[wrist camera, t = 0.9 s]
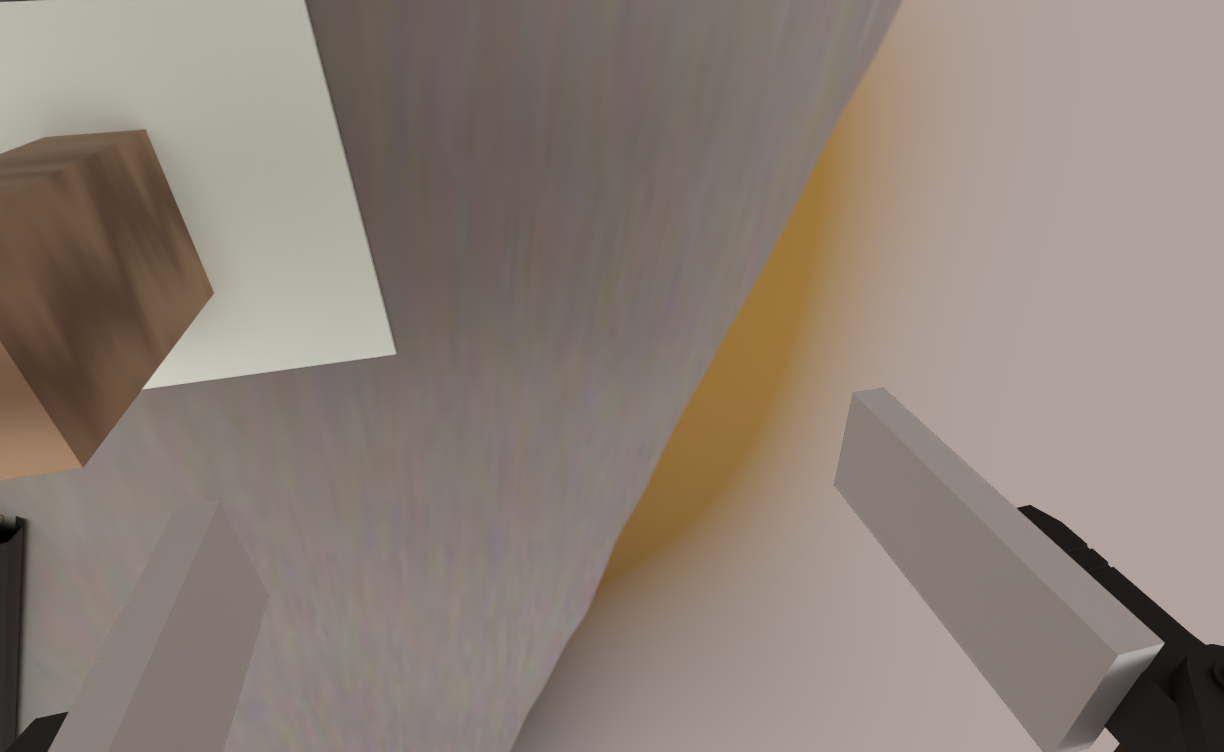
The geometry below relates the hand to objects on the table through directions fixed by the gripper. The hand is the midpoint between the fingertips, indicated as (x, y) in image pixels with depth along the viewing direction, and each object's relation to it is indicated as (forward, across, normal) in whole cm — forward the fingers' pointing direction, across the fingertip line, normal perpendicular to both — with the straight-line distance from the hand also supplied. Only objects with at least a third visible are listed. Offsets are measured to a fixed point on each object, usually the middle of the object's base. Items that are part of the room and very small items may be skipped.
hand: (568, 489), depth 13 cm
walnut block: (+23, -17, 0) cm, 29 cm away
